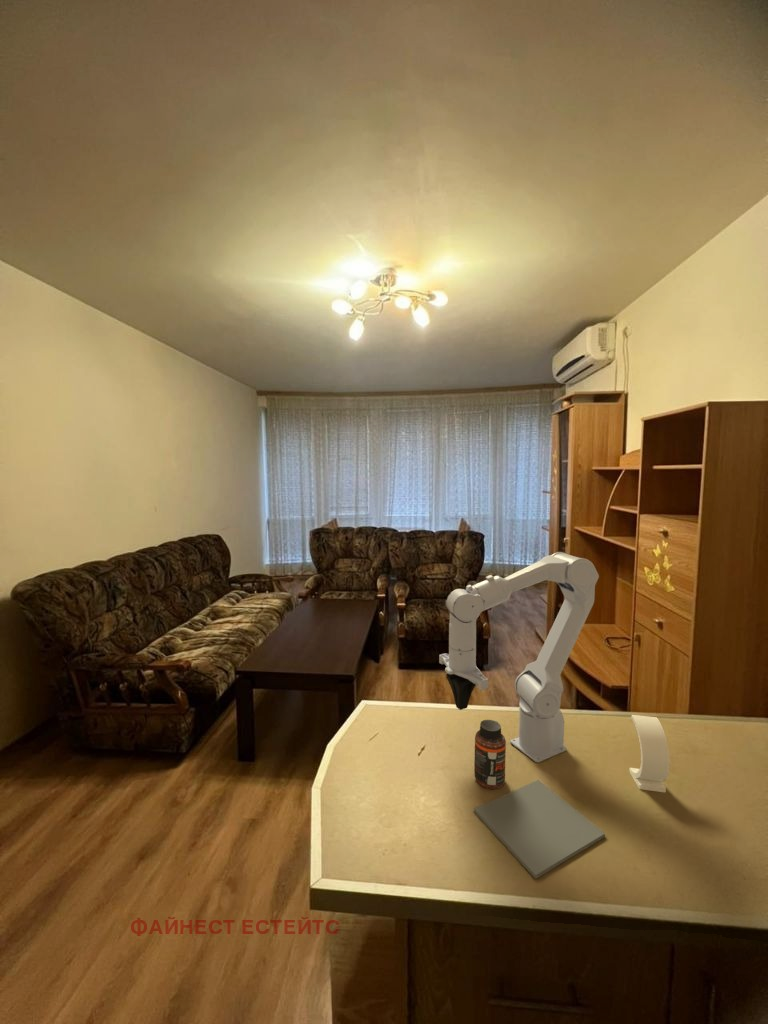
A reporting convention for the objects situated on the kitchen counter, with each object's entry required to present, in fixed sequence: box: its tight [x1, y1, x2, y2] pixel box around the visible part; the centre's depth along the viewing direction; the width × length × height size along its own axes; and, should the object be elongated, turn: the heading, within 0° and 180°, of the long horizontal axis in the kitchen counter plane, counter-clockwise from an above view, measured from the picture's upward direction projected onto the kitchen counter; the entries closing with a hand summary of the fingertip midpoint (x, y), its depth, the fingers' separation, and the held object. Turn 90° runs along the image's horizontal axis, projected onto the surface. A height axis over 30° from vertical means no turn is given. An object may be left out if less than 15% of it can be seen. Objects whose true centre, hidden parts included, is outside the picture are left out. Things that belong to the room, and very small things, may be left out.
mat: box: [473, 779, 606, 880], centre depth 70 cm, size 16×14×1 cm
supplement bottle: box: [473, 719, 507, 790], centre depth 81 cm, size 6×6×11 cm
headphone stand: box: [629, 714, 671, 793], centre depth 79 cm, size 5×6×12 cm
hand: (461, 707), depth 88 cm, fingers closed
